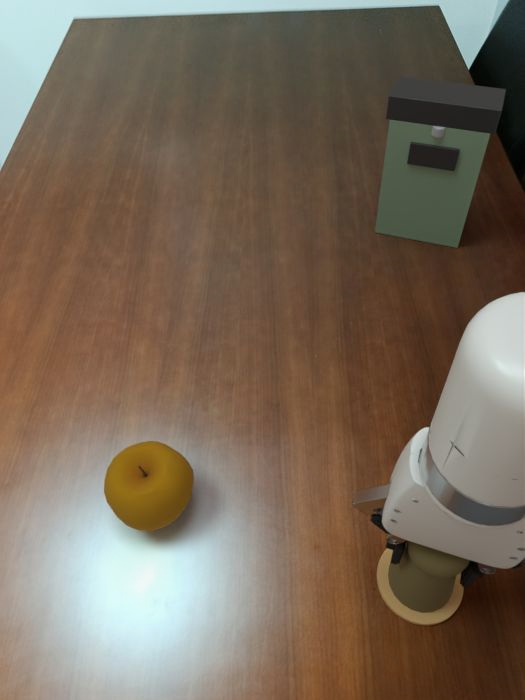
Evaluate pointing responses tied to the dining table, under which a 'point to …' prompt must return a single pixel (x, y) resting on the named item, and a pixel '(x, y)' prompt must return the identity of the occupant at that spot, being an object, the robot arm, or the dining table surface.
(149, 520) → the apple
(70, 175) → the dining table surface
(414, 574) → the pepper shaker
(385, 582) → the cork mat
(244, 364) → the dining table surface
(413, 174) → the green box with lid
